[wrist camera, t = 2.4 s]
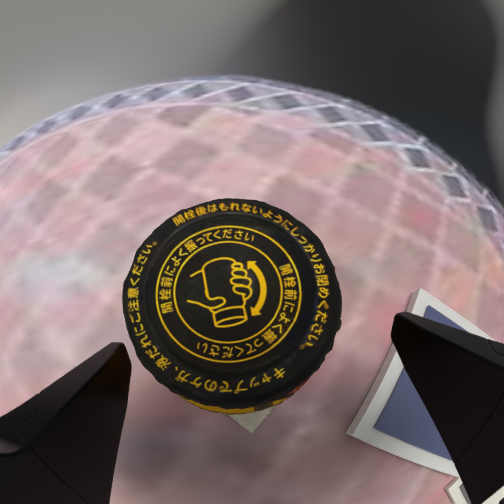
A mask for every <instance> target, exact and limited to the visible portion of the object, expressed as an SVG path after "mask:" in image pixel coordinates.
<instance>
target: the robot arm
mask: <svg viewBox="0 0 504 504" xmlns="http://www.w3.org/2000/svg"><path fill="white" fill-rule="evenodd" d="M391 339H392V342H393V344H394V346H395V348H396V351H397V353H398V355H399V357H400V360H401V362H402V364H403V366H404V369H405V371H406V373H407V375H408V376H409V378H410V380H411V382H412V384H413V385H414V387H415V389H416V391H417V393H418V394H419V396H420V398H421V400H422V402H423V403H424V405H425V407H426V409H427V411H428V413H429V415H430V417H431V418H432V420H433V422H434V424H435V426H436V428H437V430H438V432H439V434H440V436H441V438H442V440H443V442H444V444H445V446H446V448H447V450H448V452H449V454H450V456H451V459H452V461H453V463H455V464H454V465H455V468H456V470H457V472H458V474H459V476H460V479H461V481H462V483H463V485H464V488H465V490H466V493H467V495H468V497H469V500H470V502H471V504H482V503H483V502H485V501H486V500H487V499H489V498H490V497H491V496H492V495H494V494H495V493H496V492H497V491H499V490H500V489H501V488H502V487H503V486H504V344H503V343H500V342H496V341H493V340H490V339H486V338H484V337H481V336H478V335H475V334H472V333H469V332H466V331H463V330H460V329H457V328H454V327H451V326H448V325H445V324H442V323H439V322H436V321H433V320H430V319H427V318H424V317H421V316H418V315H415V314H412V313H409V312H401V313H397V314H396V315H395V317H394V321H393V326H392V331H391ZM131 370H132V366H131V361H130V358H129V355H128V353H127V350H126V347H125V345H124V344H123V343H122V342H112V343H110V344H108V345H107V346H106V347H104V348H103V349H101V350H100V351H98V352H97V353H95V354H94V355H93V356H91V357H90V358H88V359H87V360H85V361H84V362H82V363H81V364H80V365H78V366H77V367H75V368H74V369H72V370H71V371H69V372H68V373H67V374H65V375H64V376H62V377H61V378H59V379H58V380H56V381H55V382H54V383H52V384H51V385H49V386H48V387H46V388H45V389H44V390H42V391H41V392H40V393H38V394H36V395H35V396H33V397H32V398H31V399H29V400H28V401H26V402H25V403H23V404H22V405H20V406H18V407H17V408H15V409H13V410H12V411H10V412H8V413H7V414H5V415H3V416H1V417H0V504H109V502H110V495H111V488H112V481H113V475H114V469H115V463H116V458H117V453H118V447H119V442H120V437H121V432H122V428H123V423H124V419H125V414H126V409H127V403H128V394H129V385H130V377H131ZM499 504H504V497H503V498H502V499H501V500H500V501H499Z"/></svg>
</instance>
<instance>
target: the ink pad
mask: <svg viewBox="0 0 504 504" xmlns="http://www.w3.org/2000/svg"><path fill="white" fill-rule="evenodd" d="M406 312H409V313H412V314H415V315H418V316H421V317H424V318H427V319H430V320H433V321H436V322H439V323H442V324H445V325H448V326H451V327H454V328H457V329H460V330H463V331H466V332H469V333H472V334H475V335H478V336H481V337H484V338H486V339H490V340H493V339H492V338H491V337H489V336H488V335H487V334H485V333H484V332H483V331H481V330H480V329H478V328H477V327H476V326H474V325H473V324H472V323H470V322H469V321H467V320H466V319H465V318H463V317H462V316H460V315H459V314H458V313H456V312H455V311H453V310H452V309H451V308H449V307H448V306H446V305H445V304H443V303H442V302H440V301H439V300H437V299H436V298H435V297H433V296H432V295H430V294H429V293H427V292H426V291H424V290H423V289H421V288H419V289H418V290H417V291H415V292H414V293H412V295H411V298H410V301H409V304H408V306H407V309H406ZM493 341H495V340H493ZM346 434H348V435H350V436H352V437H354V438H356V439H359V440H361V441H363V442H365V443H367V444H369V445H372V446H374V447H376V448H379V449H381V450H383V451H386V452H388V453H390V454H393V455H395V456H398V457H400V458H403V459H405V460H408V461H410V462H413V463H416V464H418V465H421V466H424V467H427V468H430V469H433V470H436V471H439V472H442V473H445V474H448V475H451V476H455V477H460V476H459V474H458V472H457V470H456V468H455V465H454V464H455V463H453V461H452V459H451V456H450V454H449V452H448V450H447V448H446V446H445V444H444V442H443V440H442V438H441V436H440V434H439V432H438V430H437V428H436V426H435V424H434V422H433V420H432V418H431V417H430V415H429V413H428V411H427V409H426V407H425V405H424V403H423V402H422V400H421V398H420V396H419V394H418V393H417V391H416V389H415V387H414V385H413V384H412V382H411V380H410V378H409V376H408V375H407V373H406V371H405V369H404V366H403V364H402V362H401V360H400V357H399V355H398V353H397V351H396V348H395V346H394V344H393V343H392V346H391V348H390V350H389V352H388V355H387V357H386V359H385V361H384V363H383V365H382V367H381V369H380V371H379V373H378V375H377V377H376V379H375V381H374V383H373V385H372V387H371V389H370V391H369V393H368V395H367V397H366V398H365V400H364V402H363V404H362V406H361V407H360V409H359V411H358V413H357V414H356V416H355V418H354V420H353V421H352V423H351V425H350V426H349V428H348V429H347V431H346Z"/></svg>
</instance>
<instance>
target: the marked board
mask: <svg viewBox="0 0 504 504" xmlns="http://www.w3.org/2000/svg"><path fill="white" fill-rule="evenodd" d="M444 489H445V491H446V492H447V494H448V496H449V498H450V500H451V501H452V503H453V504H471V502H470V500H469V497H468V495H467V493H466V490H465V488H464V485H463V483H462V481H461V479H460V477H455V478H454V479H453V480H452V481H451V482H450V483H449V484H448V485H447V486H446V487H445V488H444ZM503 497H504V486H503V487H502V488H501V489H500V490H499V491H497V492H496V493H495V494H494V495H492V496H491V497H490V498H489V499H487V500H486V501H485V502H483V503H482V504H499V501H500V500H501V499H502V498H503Z"/></svg>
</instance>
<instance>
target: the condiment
mask: <svg viewBox="0 0 504 504" xmlns="http://www.w3.org/2000/svg"><path fill="white" fill-rule="evenodd" d="M122 300H123V313H124V317H125V322H126V327H127V330H128V333H129V337H130V339H131V341H132V343H133V345H134V348H135V351H136V354H137V357H138V358H139V360H140V361H141V363H142V365H143V366H144V367H145V368H146V369H147V370H148V371H149V372H150V373H151V374H152V375H153V376H154V377H155V379H156V380H157V381H158V382H159V383H161V384H163V385H164V386H166V387H167V388H169V390H170V391H171V392H173V393H175V394H178V395H179V396H180V397H181V398H184V399H185V400H187V401H188V402H189V403H191V404H193V405H195V406H197V407H199V408H200V409H204V410H208V411H212V412H217V413H223V414H227V415H228V416H230V417H231V418H232V419H233V420H235V421H236V422H237V423H239V424H240V425H241V426H242V427H244V428H245V429H246V430H248V431H249V432H251V433H253V432H254V431H255V430H256V428H257V427H258V426H259V425H260V424H261V423H262V422H263V421H264V419H265V418H266V417H267V416H268V415H269V414H270V412H271V411H272V410H273V409H274V408H275V407H276V406H277V405H279V404H281V403H282V402H283V401H284V400H286V399H288V398H289V397H291V396H292V395H293V394H294V393H295V392H296V391H297V390H298V389H300V387H301V386H303V385H304V384H305V382H306V381H307V380H308V379H309V378H310V376H311V375H312V374H313V373H314V372H316V371H317V370H318V369H319V368H320V366H321V364H322V363H323V361H324V360H325V355H326V354H327V353H328V352H330V351H331V350H332V347H333V344H334V338H335V335H336V332H337V331H338V330H339V329H340V327H341V319H340V318H341V312H342V296H341V290H340V287H339V282H338V280H337V277H336V274H335V267H334V266H333V264H332V262H331V260H330V258H329V256H328V254H327V252H326V250H325V248H324V246H323V244H322V242H321V240H320V239H319V238H318V237H317V236H316V235H315V234H314V233H313V232H312V231H311V230H310V229H309V228H308V227H307V226H306V225H305V224H303V223H302V222H300V221H298V220H297V219H295V218H294V217H293V216H292V215H290V214H289V213H288V212H286V211H284V210H281V209H279V208H277V207H274V206H271V205H269V204H267V203H265V202H261V201H257V200H246V199H231V198H226V199H216V200H212V201H210V202H205V203H202V204H199V205H196V206H193V207H190V208H188V209H183V210H180V211H179V212H177V213H176V214H175V215H173V216H172V217H170V218H168V219H167V220H166V221H165V222H164V223H162V224H161V225H160V226H159V227H158V228H156V229H155V230H154V231H153V232H152V234H151V235H150V236H149V237H148V238H147V239H146V240H145V241H144V242H143V243H142V245H141V246H140V247H139V248H138V249H137V251H136V254H135V257H134V261H133V263H132V266H131V269H130V271H129V273H128V275H127V277H126V279H125V281H124V285H123V296H122Z"/></svg>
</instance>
